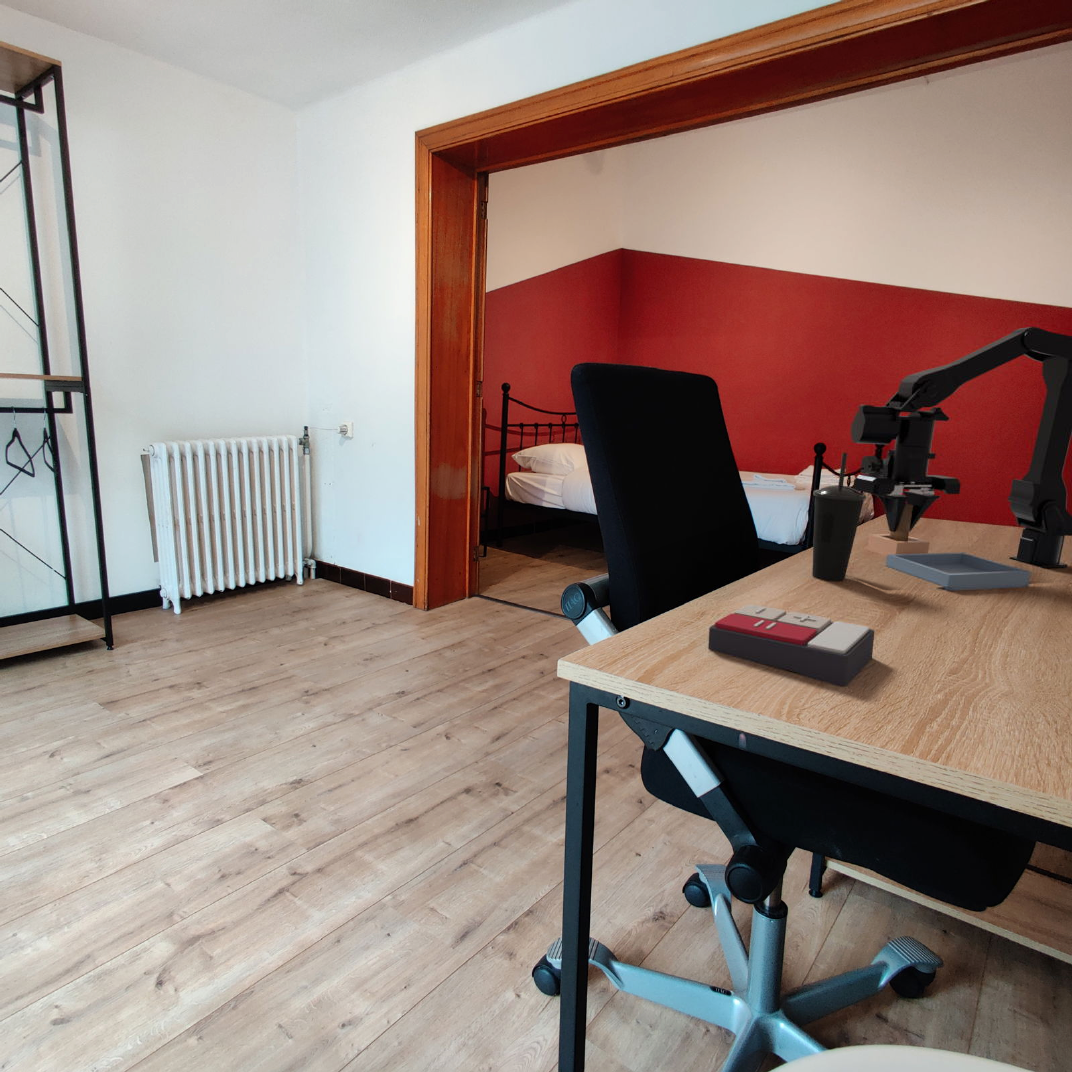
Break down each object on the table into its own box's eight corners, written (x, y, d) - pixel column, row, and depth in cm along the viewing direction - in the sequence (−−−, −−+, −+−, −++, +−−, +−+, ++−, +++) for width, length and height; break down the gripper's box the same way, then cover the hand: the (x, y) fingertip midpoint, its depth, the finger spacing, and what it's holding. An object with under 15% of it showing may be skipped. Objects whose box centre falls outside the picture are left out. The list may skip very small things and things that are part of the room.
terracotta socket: (897, 551, 134) (900, 533, 133) (926, 560, 127) (929, 542, 126) (866, 552, 132) (869, 534, 131) (894, 561, 125) (897, 542, 124)
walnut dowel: (897, 550, 131) (904, 503, 129) (909, 554, 128) (917, 505, 126) (883, 550, 130) (890, 503, 128) (895, 554, 127) (903, 506, 125)
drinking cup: (862, 584, 109) (881, 456, 105) (813, 582, 109) (829, 454, 105) (842, 571, 117) (859, 451, 112) (796, 569, 117) (811, 449, 112)
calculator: (746, 600, 88) (876, 623, 78) (744, 633, 88) (872, 659, 79) (708, 620, 79) (848, 649, 70) (706, 657, 80) (844, 690, 71)
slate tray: (960, 565, 124) (962, 552, 124) (1028, 586, 112) (1031, 571, 111) (885, 568, 120) (887, 554, 119) (946, 590, 108) (949, 575, 107)
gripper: (920, 442, 135) (908, 521, 138) (838, 440, 130) (827, 523, 133) (969, 448, 124) (954, 534, 128) (881, 446, 120) (869, 536, 123)
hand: (899, 531), depth 128 cm, fingers closed on walnut dowel, 3 cm apart
